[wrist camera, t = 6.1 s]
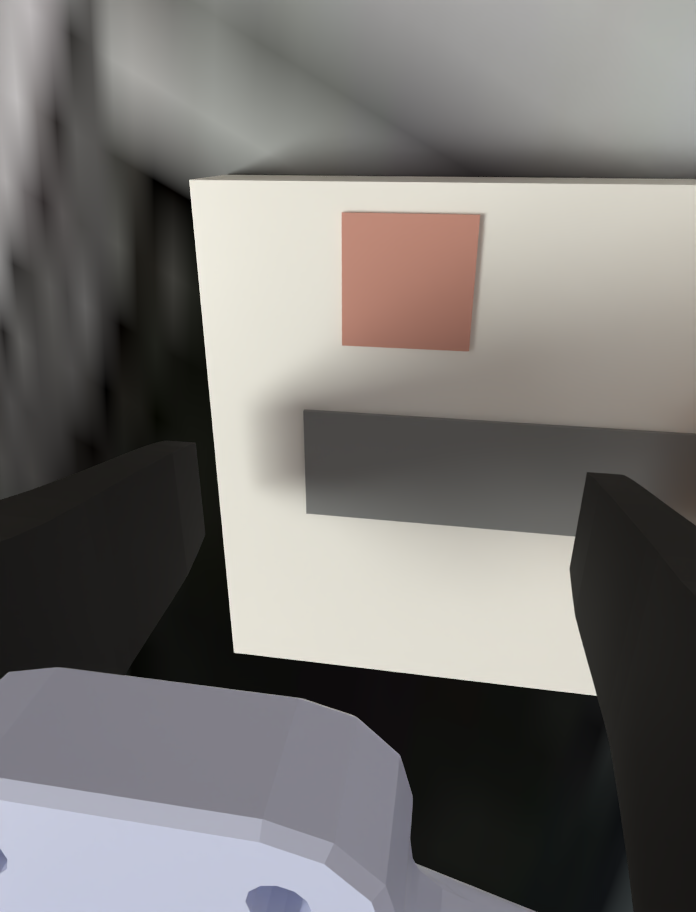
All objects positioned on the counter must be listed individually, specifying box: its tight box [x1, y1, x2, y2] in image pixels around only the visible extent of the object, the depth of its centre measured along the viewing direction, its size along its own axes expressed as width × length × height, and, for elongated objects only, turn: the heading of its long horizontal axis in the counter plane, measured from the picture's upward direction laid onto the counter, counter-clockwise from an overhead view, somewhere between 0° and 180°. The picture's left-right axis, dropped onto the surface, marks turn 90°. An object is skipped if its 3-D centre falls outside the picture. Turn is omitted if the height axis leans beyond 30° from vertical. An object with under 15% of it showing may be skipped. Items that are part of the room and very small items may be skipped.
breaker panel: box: [189, 175, 696, 696], centre depth 14 cm, size 11×16×2 cm
